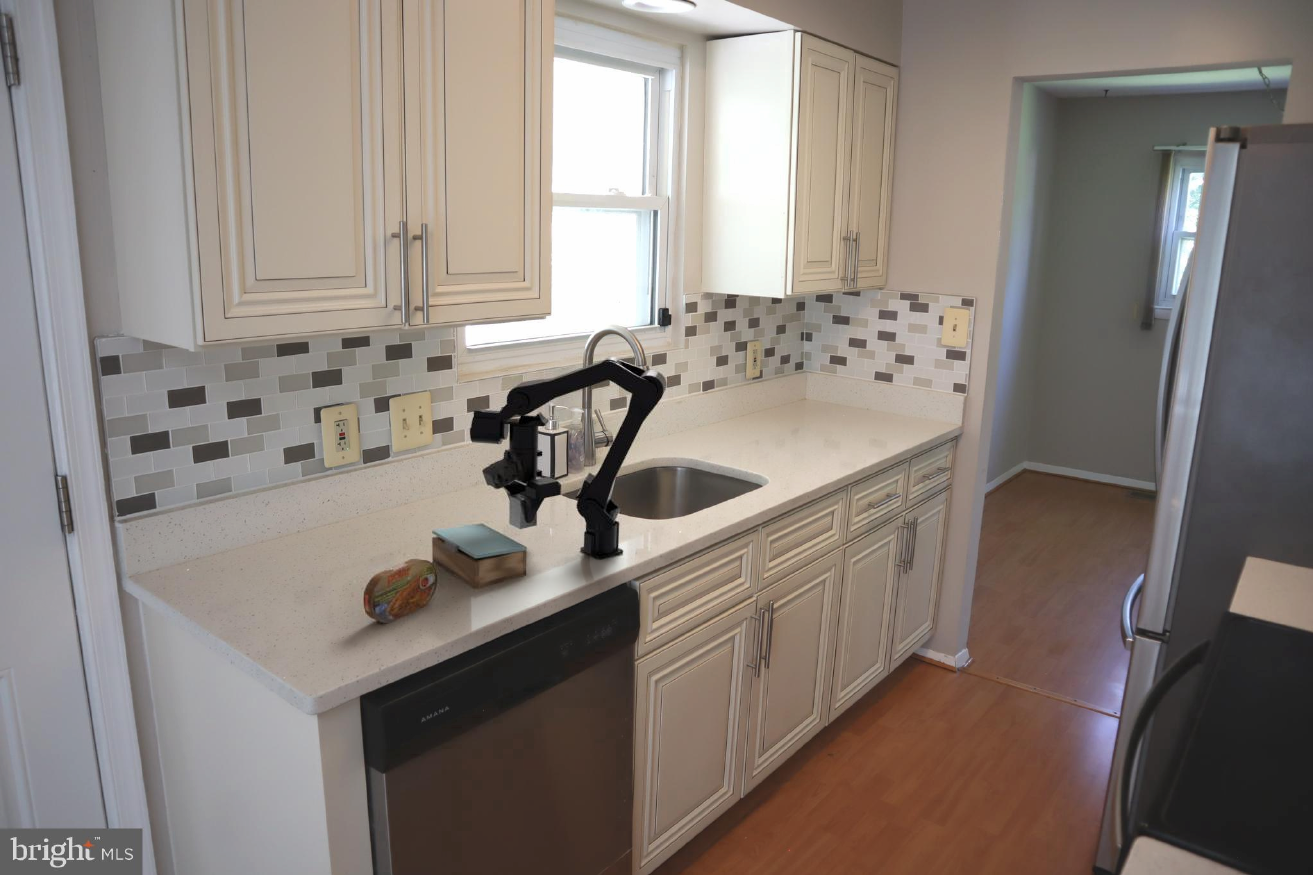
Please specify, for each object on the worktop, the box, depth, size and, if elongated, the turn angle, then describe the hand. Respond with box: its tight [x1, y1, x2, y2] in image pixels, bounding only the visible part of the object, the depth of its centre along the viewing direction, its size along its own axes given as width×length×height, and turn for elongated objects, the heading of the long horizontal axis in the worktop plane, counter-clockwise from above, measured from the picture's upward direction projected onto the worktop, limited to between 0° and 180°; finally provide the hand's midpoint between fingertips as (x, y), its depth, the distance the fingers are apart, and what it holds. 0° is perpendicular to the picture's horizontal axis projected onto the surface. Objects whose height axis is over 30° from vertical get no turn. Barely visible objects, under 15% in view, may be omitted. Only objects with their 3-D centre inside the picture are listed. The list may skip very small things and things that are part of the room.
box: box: [431, 535, 528, 589], centre depth 176 cm, size 11×16×5 cm
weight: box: [508, 494, 538, 530], centre depth 187 cm, size 4×4×6 cm
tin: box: [363, 558, 439, 624], centre depth 156 cm, size 15×3×8 cm, turn 150°
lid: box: [431, 523, 528, 558], centre depth 175 cm, size 12×16×1 cm
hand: (523, 519), depth 188 cm, fingers closed on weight, 4 cm apart
